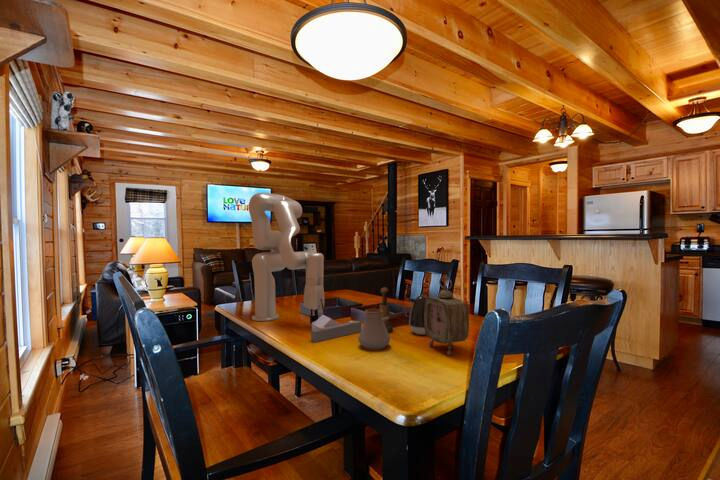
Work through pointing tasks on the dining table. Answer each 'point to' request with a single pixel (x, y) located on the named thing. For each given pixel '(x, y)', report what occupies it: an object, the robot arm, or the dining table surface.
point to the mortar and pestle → (385, 310)
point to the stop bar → (335, 331)
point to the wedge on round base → (323, 322)
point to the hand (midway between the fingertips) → (314, 324)
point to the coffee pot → (375, 330)
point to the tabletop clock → (446, 318)
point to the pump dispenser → (417, 315)
